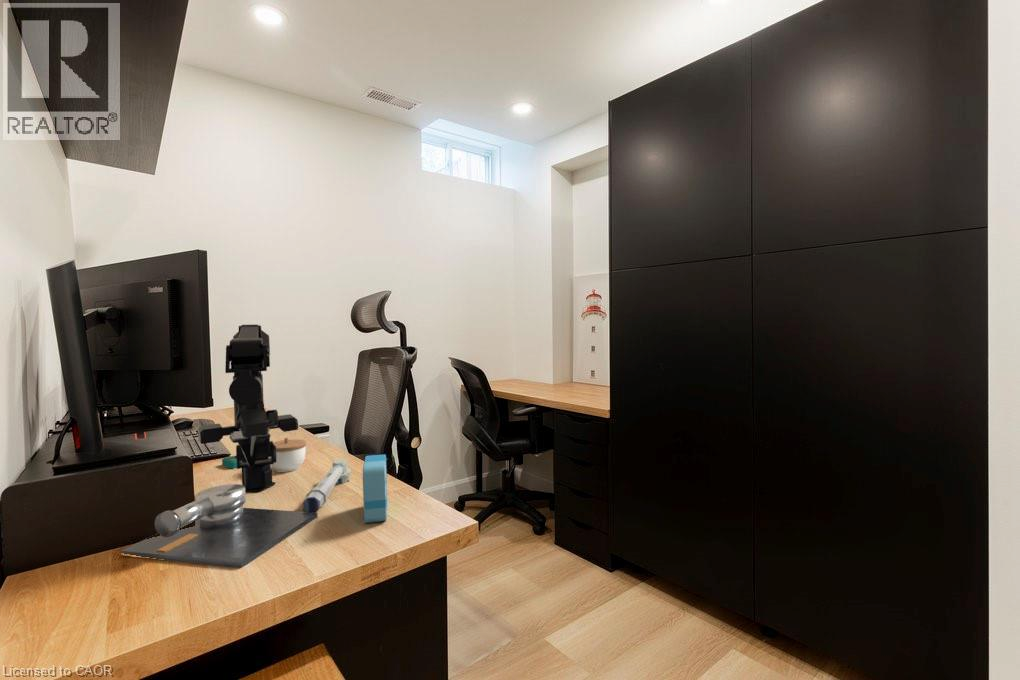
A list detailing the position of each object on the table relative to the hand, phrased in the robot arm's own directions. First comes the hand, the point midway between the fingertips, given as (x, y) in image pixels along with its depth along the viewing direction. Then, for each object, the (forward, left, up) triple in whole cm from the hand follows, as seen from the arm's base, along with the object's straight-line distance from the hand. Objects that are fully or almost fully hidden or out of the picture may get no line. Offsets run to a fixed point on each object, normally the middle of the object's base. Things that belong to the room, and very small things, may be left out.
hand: (251, 466), depth 104 cm
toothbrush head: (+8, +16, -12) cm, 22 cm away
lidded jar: (-17, +33, -12) cm, 39 cm away
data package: (+26, +6, -12) cm, 30 cm away
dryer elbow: (-3, -9, -8) cm, 13 cm away
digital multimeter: (-34, +39, -12) cm, 53 cm away
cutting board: (+1, -9, -11) cm, 14 cm away
